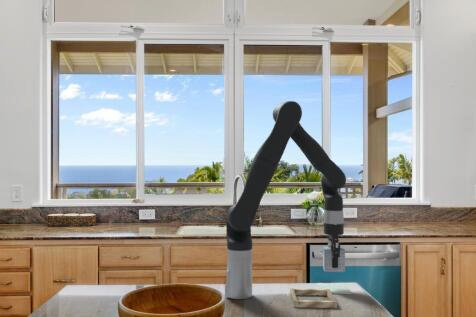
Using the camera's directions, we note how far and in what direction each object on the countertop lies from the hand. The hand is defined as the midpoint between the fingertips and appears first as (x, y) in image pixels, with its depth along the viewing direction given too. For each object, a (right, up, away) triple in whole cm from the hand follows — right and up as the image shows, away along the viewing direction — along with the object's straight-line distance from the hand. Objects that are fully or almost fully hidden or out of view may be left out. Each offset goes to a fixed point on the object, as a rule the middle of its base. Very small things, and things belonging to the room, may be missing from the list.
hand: (333, 265), depth 160 cm
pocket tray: (-11, -9, -14) cm, 19 cm away
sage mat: (0, -9, 0) cm, 9 cm away
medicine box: (0, -2, 0) cm, 2 cm away
